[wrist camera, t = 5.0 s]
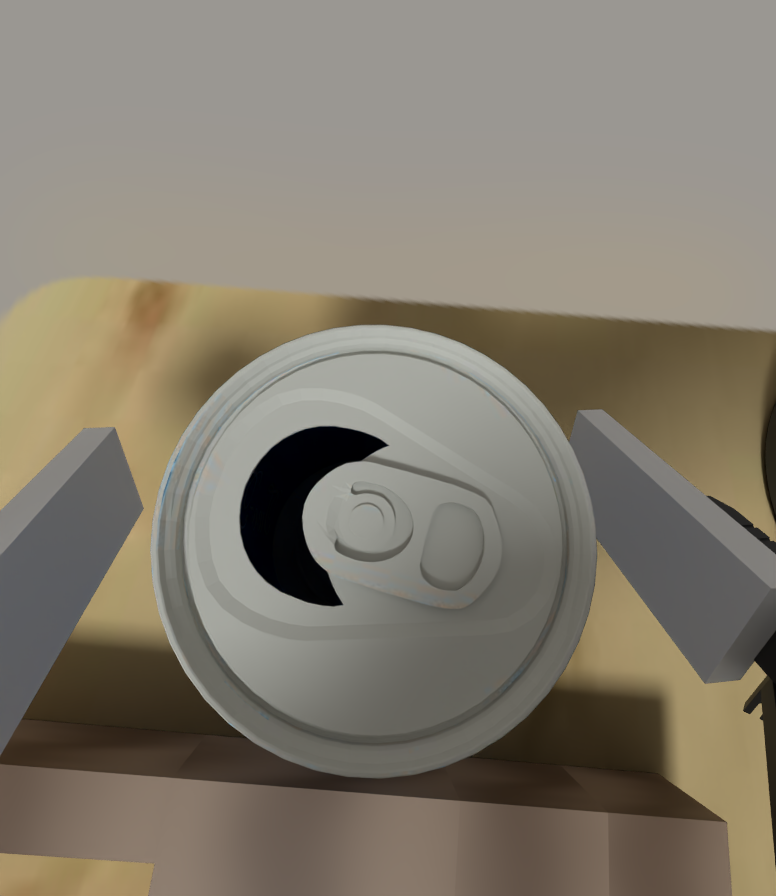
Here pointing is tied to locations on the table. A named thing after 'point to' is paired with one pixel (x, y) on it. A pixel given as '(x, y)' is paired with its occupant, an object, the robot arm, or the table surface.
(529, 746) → the table surface
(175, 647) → the beverage can
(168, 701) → the table surface
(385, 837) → the hole board
